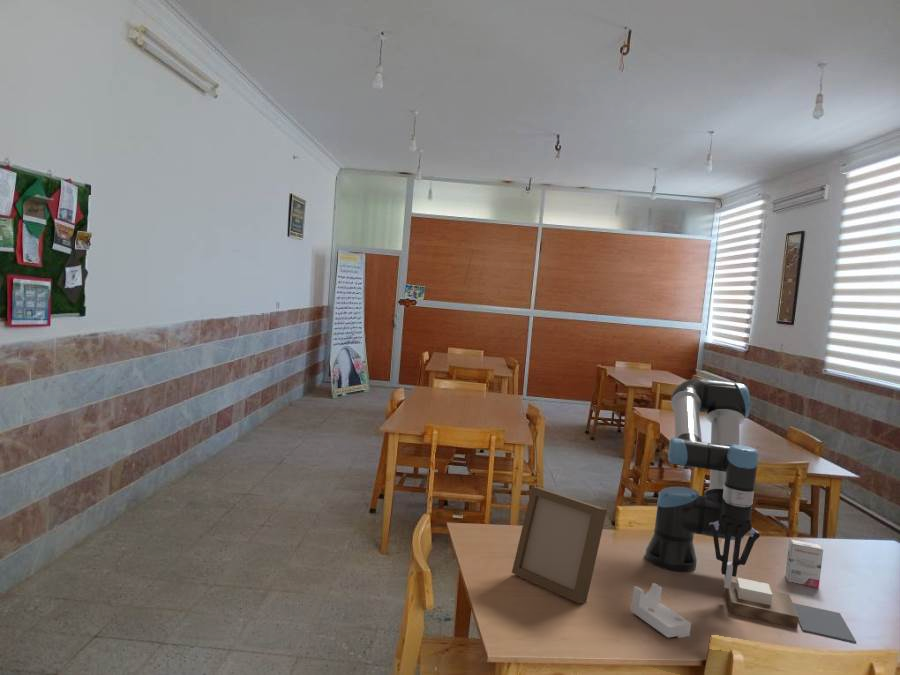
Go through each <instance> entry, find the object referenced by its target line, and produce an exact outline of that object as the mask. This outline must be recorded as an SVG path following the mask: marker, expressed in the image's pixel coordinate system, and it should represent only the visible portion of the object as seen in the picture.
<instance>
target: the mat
mask: <svg viewBox="0 0 900 675" xmlns="http://www.w3.org/2000/svg"><path fill="white" fill-rule="evenodd" d="M793 605H794V607H795V609H796V612H797V614H798V616H799V620H798V625H799V627H800V629H801V631H802V632H805V633H810V634H813V635H819V636H823V637H827V638H831V639H836V640H840V641H845V642H848V641H850V642H849V643H853V642H854V643H853V644H857V640H856V638H855V637H854V635H853V633H852V632H851V629H850V628H849V626H848V625H847V623H846V621H845V619H844V618H843V616H842V614H841V612H837V611H832V610H827V609H823V608H819V607H815V606H814V607H813V606H809V605H804V604H799V603H796V602H793Z"/></svg>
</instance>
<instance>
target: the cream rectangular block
mask: <svg viewBox="0 0 900 675" xmlns="http://www.w3.org/2000/svg"><path fill="white" fill-rule="evenodd" d="M735 583H736V591H737V595H738V598H739V599H744V600H748V601H753V602H757V603H762V604H767V605H771V602H772V592H771V591H772V589H771V586H770V584H769V583H766V582H761V581H755V580H751V579H746V578H742V577H737V576H736V582H735Z"/></svg>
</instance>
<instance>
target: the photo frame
mask: <svg viewBox="0 0 900 675" xmlns="http://www.w3.org/2000/svg"><path fill="white" fill-rule="evenodd" d="M607 510H608V509H607V508H604V507H600V506H597V505H593V504H591V503H589V502H585V501H581V500H579V499H576V498H574V497H573V498H572V497H570V496H567V495H564V494H561V493H558V492H554V491H551V490H549V489H546V488H542V487H538V486H531V489H530V495H529V498H528V501H527V507H526V511H525V515H524V519H523V524H522V527H521V528H522V529H521V533H520V536H519V541H518V544H517V547H516V548H517V549H516V553H515V558H514V562H513V565H512V571H511V574H514V575H515V576H517V577H520V578H522V579H524V580H526V581H529V582H531V583H532V584H533V583H534V584H536V585H537V586H540V587H543V588H544V589H547V590H549V591H551V592H553V593H556V594H558V595H559V596H562V597H565V598H566V599H569V600H571V601H574V602H575V603H577V604H582V603H587V600H588V596H589V591H590V587H591V584H592V583H591V582H592V578H593V574H594V570H595V564H596V560H597V556H598V551H599V548H600V547H599V546H600V543H601V539H602V533H603V529H604V525H605V521H606V516H607Z"/></svg>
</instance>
